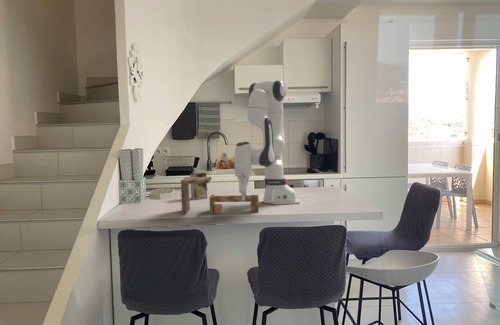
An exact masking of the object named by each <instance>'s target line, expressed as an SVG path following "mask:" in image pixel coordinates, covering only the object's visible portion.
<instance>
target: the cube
mask: <svg viewBox="0 0 500 325" xmlns="http://www.w3.org/2000/svg"><path fill="white" fill-rule="evenodd" d="M222 212H223V203H215V204H214V212H213V214H214V213H215V214H216V213H219V214H220V213H222Z"/></svg>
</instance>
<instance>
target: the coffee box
mask: <svg viewBox="0 0 500 325" xmlns="http://www.w3.org/2000/svg"><path fill="white" fill-rule="evenodd" d="M189 177H207V173H205V172H197V173H196V172H192V173H189ZM189 187H190V199H193V200H200V199H201V200H202V199H208V183H189Z"/></svg>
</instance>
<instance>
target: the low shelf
mask: <svg viewBox="0 0 500 325" xmlns="http://www.w3.org/2000/svg"><path fill="white" fill-rule="evenodd" d="M211 181H212V176H206V177H190V176H187V177H184V178H183V179H181V180H180V188H181V189H180V192H181V194H180V195H181V214H182V216H186V215H187V213H189V211H190V209H191V204H190V203H191V201H190V199H191V196H190V183H207V184H209V183H210V182H211Z"/></svg>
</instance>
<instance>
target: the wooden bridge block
mask: <svg viewBox="0 0 500 325" xmlns="http://www.w3.org/2000/svg"><path fill="white" fill-rule="evenodd" d="M239 202H240V203H241V202H242V203H244V202H245V203H249V202H250V213H259V211H260V210H259V208H260V207H259V205H260V204H259V194H251V195H247V194H246V195H245V200H242V196H241V195H215V194H211V195H210V197H209V214H212V215H213V214H214V204H216V203H239Z"/></svg>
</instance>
